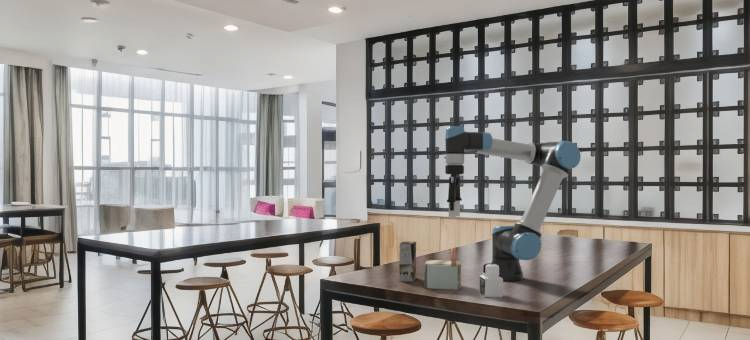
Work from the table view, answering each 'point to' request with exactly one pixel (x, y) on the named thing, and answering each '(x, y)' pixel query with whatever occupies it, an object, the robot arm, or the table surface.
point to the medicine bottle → (491, 281)
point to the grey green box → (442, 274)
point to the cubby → (458, 263)
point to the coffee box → (407, 261)
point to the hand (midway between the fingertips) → (454, 217)
